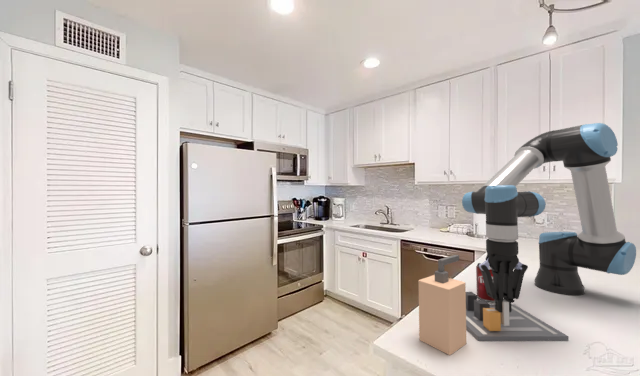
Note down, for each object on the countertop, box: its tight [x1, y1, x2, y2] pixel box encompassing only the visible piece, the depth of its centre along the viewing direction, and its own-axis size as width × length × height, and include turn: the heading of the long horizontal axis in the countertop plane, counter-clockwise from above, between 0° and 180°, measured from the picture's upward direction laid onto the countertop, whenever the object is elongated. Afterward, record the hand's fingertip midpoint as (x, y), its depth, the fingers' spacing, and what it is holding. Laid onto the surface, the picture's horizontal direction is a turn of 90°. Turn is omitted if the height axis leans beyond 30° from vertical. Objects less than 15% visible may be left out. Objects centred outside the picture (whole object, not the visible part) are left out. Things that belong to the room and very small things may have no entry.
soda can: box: [475, 265, 495, 303], centre depth 98 cm, size 7×7×12 cm
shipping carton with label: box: [483, 308, 501, 331], centre depth 74 cm, size 3×3×5 cm
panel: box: [466, 291, 569, 342], centre depth 80 cm, size 24×20×6 cm
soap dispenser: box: [418, 254, 468, 356], centre depth 72 cm, size 13×9×22 cm
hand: (503, 323), depth 74 cm, fingers closed
